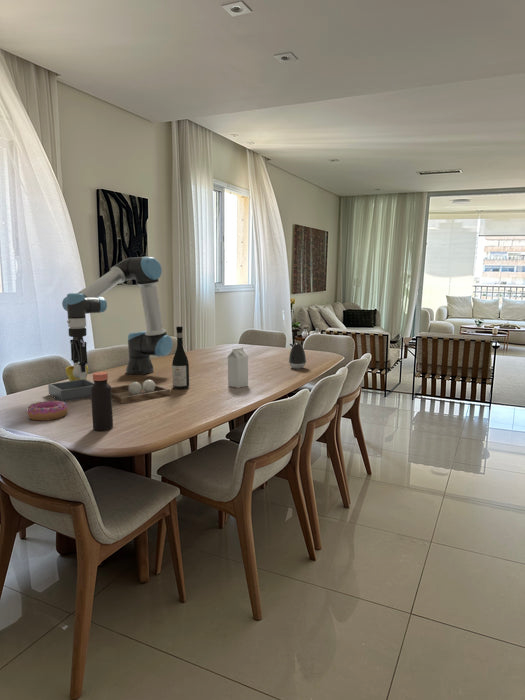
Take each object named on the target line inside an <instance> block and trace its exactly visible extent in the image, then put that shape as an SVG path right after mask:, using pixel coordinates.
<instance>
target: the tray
mask: <svg viewBox="0 0 525 700" xmlns="http://www.w3.org/2000/svg"><path fill="white" fill-rule="evenodd" d="M139 383H140V384H141V386H142V385H143V382H139ZM129 385H130V384H125V385H119V386H111V395H112V401H115V402H117V403H119V404H128V403H133V402H138V401H143V400H144V401H146V400H150V399H155V398H160V397H166V396H171V389H170V388H166V387H164V386H160V385H158V384H155V389H154V391H152V392H144V393H139V394H137V395H133V394H131V395H128V396H121V395H119V394H116V393H119V392H121V391H122V392H127V391H126V390H128V387H129ZM128 391H129V390H128ZM122 392H121V393H122Z"/></svg>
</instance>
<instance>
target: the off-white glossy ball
mask: <svg viewBox="0 0 525 700" xmlns="http://www.w3.org/2000/svg"><path fill="white" fill-rule="evenodd" d="M86 374H87V375H88V373H87V370H86ZM73 375H74V376H75V377H76V378H79V379H80V375H79V366H76V367H75V368H74V369H73Z"/></svg>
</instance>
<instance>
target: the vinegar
mask: <svg viewBox="0 0 525 700" xmlns="http://www.w3.org/2000/svg"><path fill="white" fill-rule="evenodd" d="M108 379H109V375H108V372H105V371H98V372H94V373H92V380H93V382H94V385H93V386H92V387H91V397H90V399H91V414H92V416H91V417H92V429H93V430H94V431H95V432H105V431H109V430H112V429H113V427H114V417H113V415H114V414H113V400H112V395H111V387H112V386H111V385H110V384H109V383H108V381H109V380H108Z"/></svg>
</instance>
